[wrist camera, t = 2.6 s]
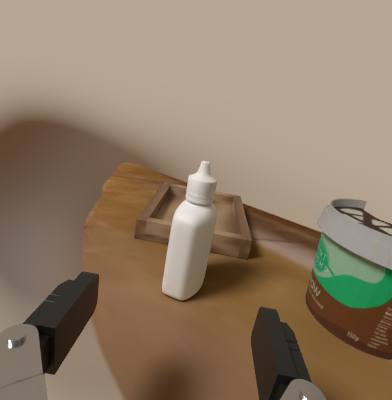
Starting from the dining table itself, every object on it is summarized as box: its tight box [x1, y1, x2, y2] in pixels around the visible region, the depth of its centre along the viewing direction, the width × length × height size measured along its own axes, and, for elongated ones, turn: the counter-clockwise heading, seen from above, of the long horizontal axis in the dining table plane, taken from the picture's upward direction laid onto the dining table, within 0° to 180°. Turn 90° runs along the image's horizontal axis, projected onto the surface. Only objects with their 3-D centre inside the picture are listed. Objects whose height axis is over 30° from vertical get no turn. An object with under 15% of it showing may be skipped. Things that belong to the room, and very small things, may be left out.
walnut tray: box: [135, 183, 252, 259], centre depth 41 cm, size 14×18×2 cm
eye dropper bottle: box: [162, 161, 217, 301], centre depth 24 cm, size 4×6×12 cm
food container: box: [306, 199, 392, 360], centre depth 24 cm, size 12×6×10 cm, turn 176°
